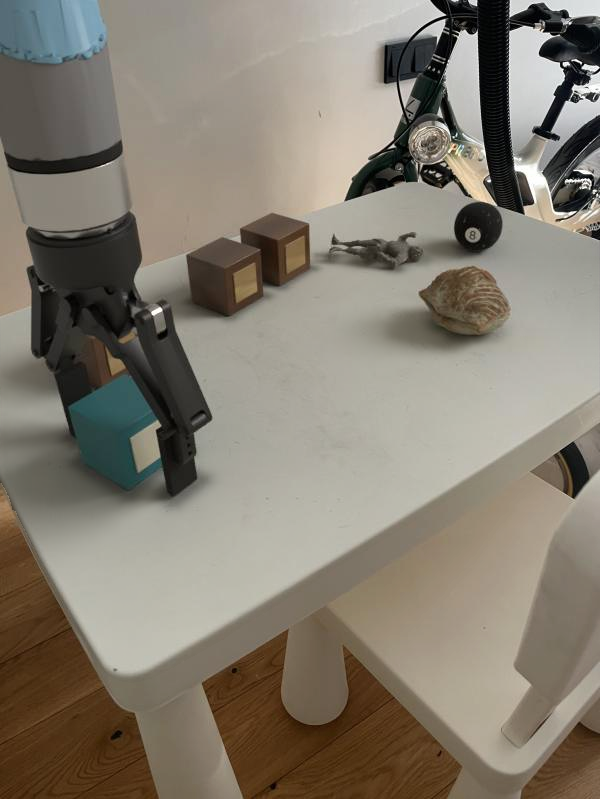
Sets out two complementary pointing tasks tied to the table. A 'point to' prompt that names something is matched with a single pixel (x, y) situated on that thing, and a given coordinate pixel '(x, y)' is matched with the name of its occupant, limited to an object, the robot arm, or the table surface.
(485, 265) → the table surface
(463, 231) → the billiard ball
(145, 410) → the teal block
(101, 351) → the walnut block
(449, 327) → the seashell
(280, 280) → the walnut block
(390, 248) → the figurine
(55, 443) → the table surface
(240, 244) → the walnut block
